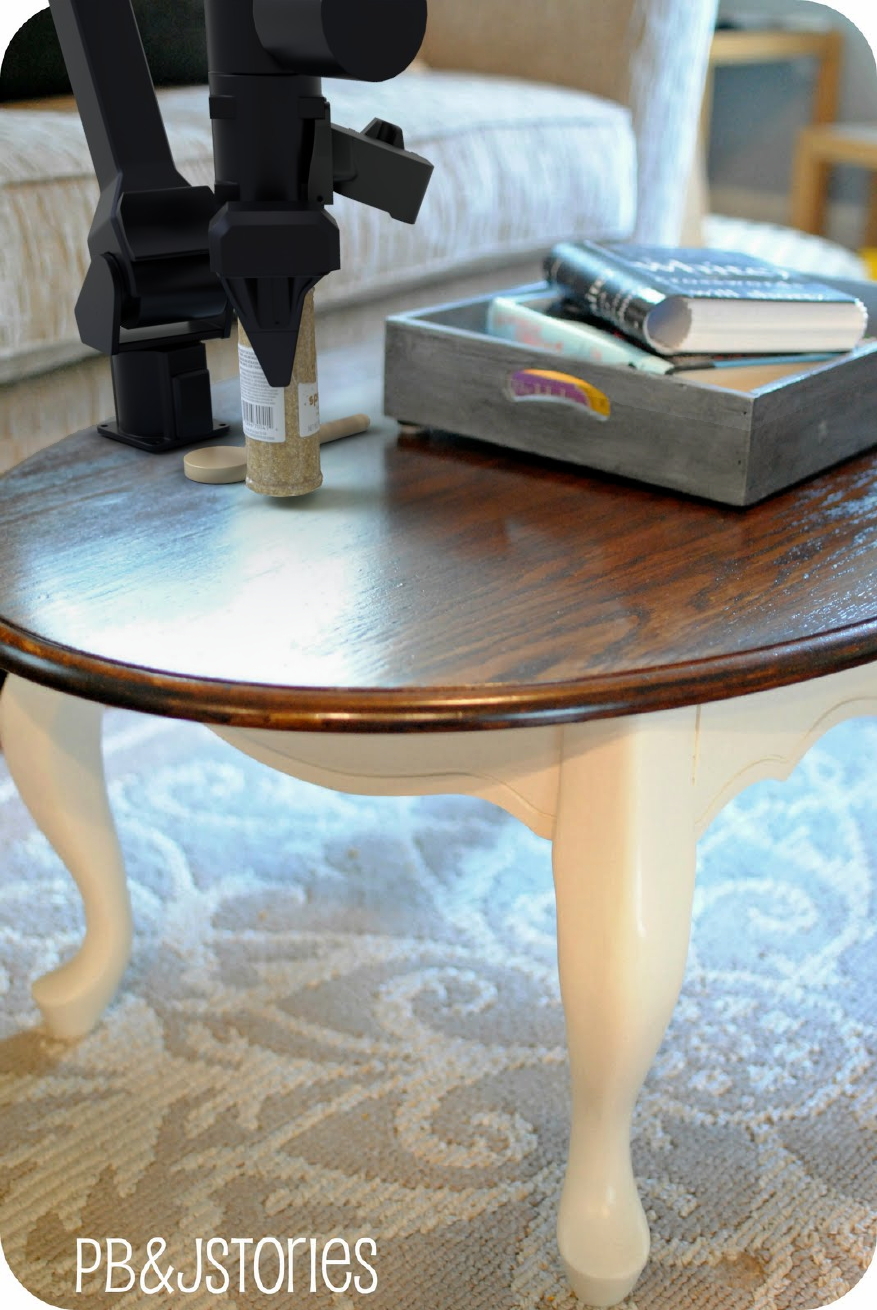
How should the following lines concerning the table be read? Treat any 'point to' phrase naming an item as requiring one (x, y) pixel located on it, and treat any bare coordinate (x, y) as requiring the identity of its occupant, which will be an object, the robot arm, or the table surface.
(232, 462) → the wooden spoon
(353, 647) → the table surface
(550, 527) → the table surface
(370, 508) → the table surface
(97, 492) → the table surface
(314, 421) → the sprinkles bottle
